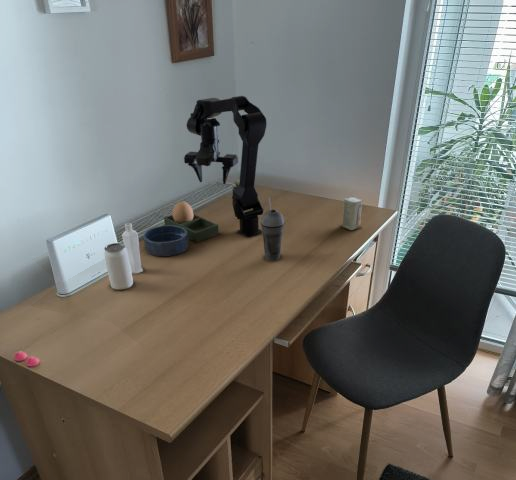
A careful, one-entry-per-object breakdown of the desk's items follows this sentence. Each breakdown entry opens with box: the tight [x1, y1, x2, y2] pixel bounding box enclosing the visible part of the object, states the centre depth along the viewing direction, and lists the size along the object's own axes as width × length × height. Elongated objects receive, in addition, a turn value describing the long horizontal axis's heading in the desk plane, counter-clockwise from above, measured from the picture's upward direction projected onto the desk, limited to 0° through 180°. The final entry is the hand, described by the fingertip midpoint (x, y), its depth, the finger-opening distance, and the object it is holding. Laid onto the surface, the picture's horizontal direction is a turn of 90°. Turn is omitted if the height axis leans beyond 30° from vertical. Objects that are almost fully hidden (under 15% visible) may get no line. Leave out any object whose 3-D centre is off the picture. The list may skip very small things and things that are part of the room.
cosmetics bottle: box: [341, 196, 363, 231], centre depth 175 cm, size 5×4×10 cm
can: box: [103, 242, 134, 291], centre depth 142 cm, size 6×6×12 cm
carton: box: [163, 213, 220, 243], centre depth 176 cm, size 19×10×4 cm, turn 43°
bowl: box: [142, 224, 189, 257], centre depth 165 cm, size 14×14×5 cm
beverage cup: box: [260, 195, 285, 262], centre depth 153 cm, size 7×7×20 cm
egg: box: [172, 201, 194, 224], centre depth 177 cm, size 7×7×8 cm
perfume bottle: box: [121, 222, 144, 274], centre depth 149 cm, size 5×4×15 cm
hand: (212, 183), depth 182 cm, fingers open, 9 cm apart
